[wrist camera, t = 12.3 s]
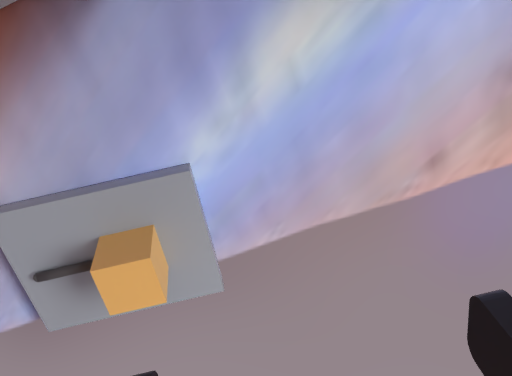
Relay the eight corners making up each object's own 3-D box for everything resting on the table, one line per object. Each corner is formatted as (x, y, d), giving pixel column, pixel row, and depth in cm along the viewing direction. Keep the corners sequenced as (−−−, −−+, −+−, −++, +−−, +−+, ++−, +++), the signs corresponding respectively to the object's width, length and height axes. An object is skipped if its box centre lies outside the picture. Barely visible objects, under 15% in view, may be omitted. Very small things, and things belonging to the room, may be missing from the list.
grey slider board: (189, 163, 42) (190, 190, 37) (223, 281, 49) (227, 315, 44) (-11, 208, 41) (-34, 240, 37) (52, 321, 48) (39, 359, 44)
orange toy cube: (153, 224, 43) (150, 257, 38) (168, 266, 45) (166, 302, 41) (99, 236, 42) (89, 271, 38) (117, 278, 45) (110, 315, 41)
